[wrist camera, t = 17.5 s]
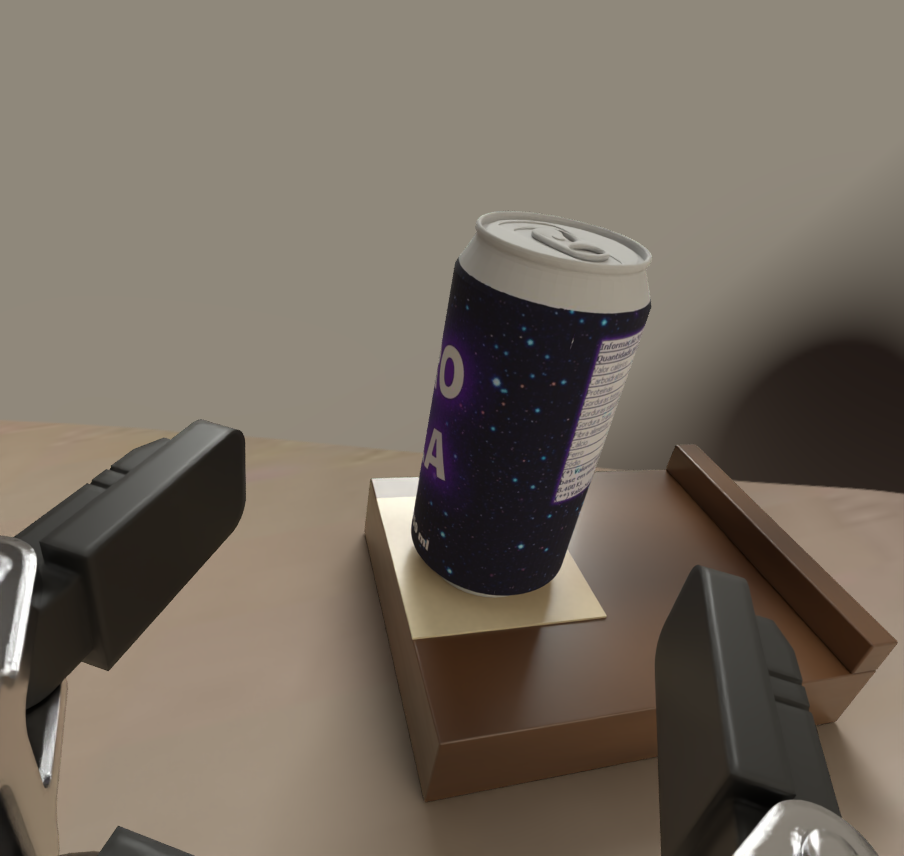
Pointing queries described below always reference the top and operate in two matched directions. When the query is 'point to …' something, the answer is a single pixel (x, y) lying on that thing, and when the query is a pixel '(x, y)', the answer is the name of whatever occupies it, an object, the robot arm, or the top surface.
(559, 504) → the beverage can
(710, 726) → the robot arm
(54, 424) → the top surface
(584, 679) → the wooden serving tray
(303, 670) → the top surface
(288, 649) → the top surface
